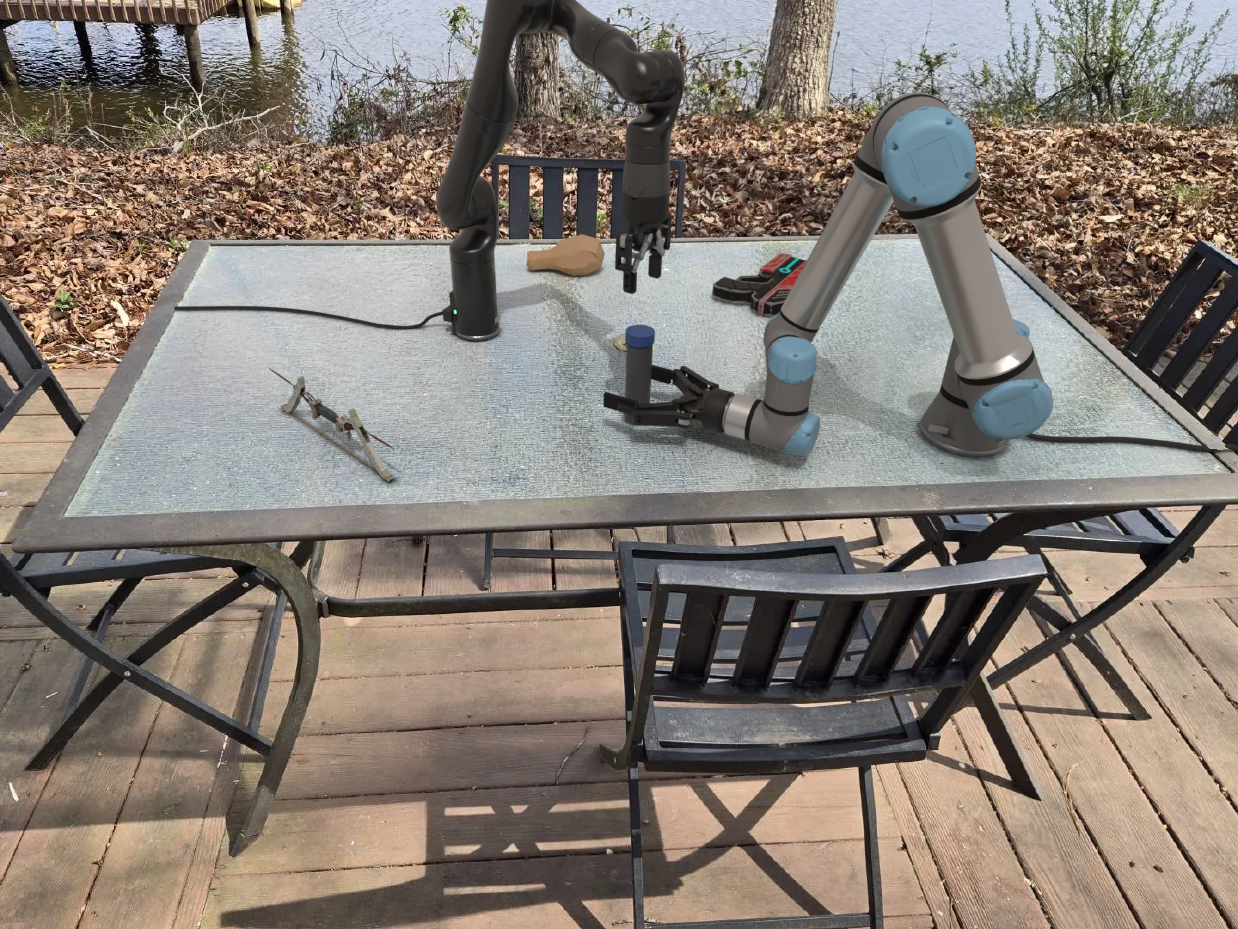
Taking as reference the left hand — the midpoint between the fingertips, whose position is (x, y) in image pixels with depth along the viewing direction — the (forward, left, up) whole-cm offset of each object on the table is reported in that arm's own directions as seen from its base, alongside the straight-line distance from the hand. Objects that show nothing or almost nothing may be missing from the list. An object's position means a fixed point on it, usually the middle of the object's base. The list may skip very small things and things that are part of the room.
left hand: (642, 284), depth 149 cm
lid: (0, 0, -9) cm, 9 cm away
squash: (-42, +62, -26) cm, 79 cm away
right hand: (-3, 0, -20) cm, 20 cm away
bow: (-46, -29, -26) cm, 60 cm away
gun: (+9, +71, -26) cm, 76 cm away
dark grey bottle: (0, 0, -26) cm, 26 cm away
